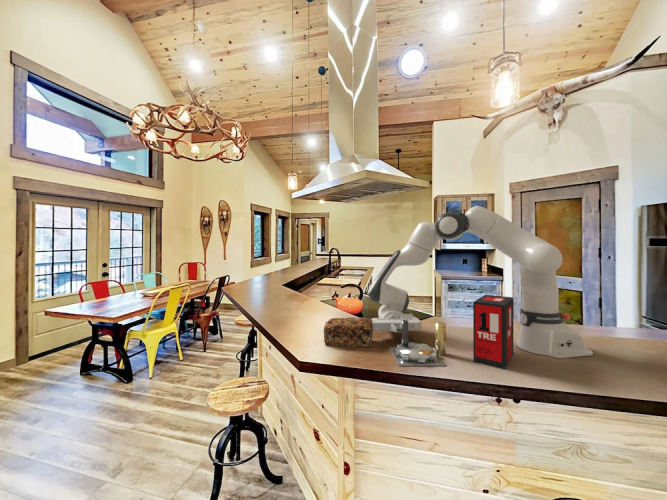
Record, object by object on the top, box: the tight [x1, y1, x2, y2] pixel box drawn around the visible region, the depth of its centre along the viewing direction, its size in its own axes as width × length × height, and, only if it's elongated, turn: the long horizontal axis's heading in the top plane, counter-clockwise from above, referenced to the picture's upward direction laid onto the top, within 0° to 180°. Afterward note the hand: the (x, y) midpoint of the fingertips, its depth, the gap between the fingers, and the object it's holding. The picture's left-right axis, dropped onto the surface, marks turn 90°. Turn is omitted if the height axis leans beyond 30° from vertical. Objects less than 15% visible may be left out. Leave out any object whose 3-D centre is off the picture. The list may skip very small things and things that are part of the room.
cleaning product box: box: [472, 294, 514, 370], centre depth 96 cm, size 16×9×20 cm, turn 139°
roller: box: [434, 321, 447, 357], centre depth 100 cm, size 4×4×11 cm
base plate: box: [389, 346, 447, 367], centre depth 98 cm, size 15×15×1 cm
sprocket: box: [395, 320, 437, 362], centre depth 98 cm, size 14×14×11 cm
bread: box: [323, 317, 374, 348], centre depth 113 cm, size 19×11×10 cm, turn 77°
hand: (399, 330), depth 107 cm, fingers closed
